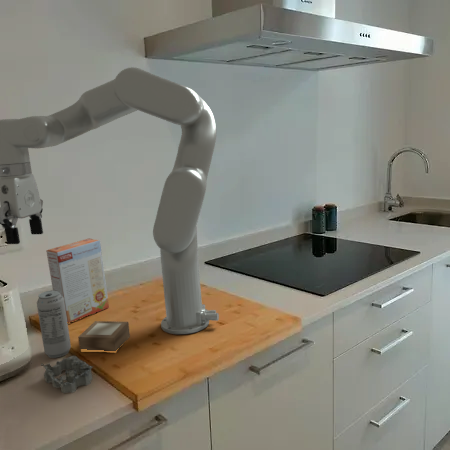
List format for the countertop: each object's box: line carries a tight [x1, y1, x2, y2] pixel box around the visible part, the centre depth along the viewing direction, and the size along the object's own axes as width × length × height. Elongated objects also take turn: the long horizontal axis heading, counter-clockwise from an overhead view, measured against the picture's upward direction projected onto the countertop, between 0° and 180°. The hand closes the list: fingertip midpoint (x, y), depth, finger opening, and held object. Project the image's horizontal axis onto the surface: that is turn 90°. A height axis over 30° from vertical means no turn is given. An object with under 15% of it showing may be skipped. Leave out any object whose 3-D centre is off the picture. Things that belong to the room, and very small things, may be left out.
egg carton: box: [40, 355, 94, 394], centre depth 101 cm, size 11×8×4 cm
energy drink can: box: [36, 289, 72, 359], centre depth 113 cm, size 6×6×15 cm
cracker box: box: [46, 238, 110, 323], centre depth 135 cm, size 14×6×21 cm, turn 141°
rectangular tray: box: [78, 320, 131, 351], centre depth 117 cm, size 9×9×4 cm
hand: (25, 238), depth 120 cm, fingers open, 9 cm apart
